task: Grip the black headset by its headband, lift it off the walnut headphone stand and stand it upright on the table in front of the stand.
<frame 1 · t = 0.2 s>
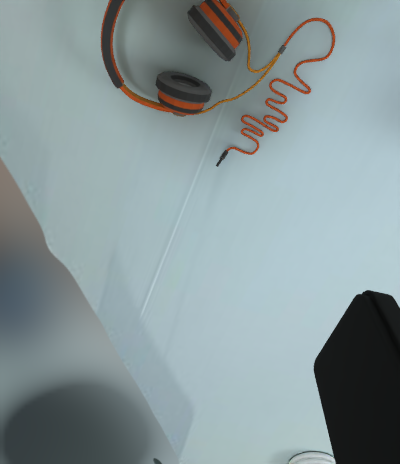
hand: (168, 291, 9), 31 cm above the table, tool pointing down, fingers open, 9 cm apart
headphones: (212, 64, 35), on the table
stack of white coasters: (312, 461, 74), on the table
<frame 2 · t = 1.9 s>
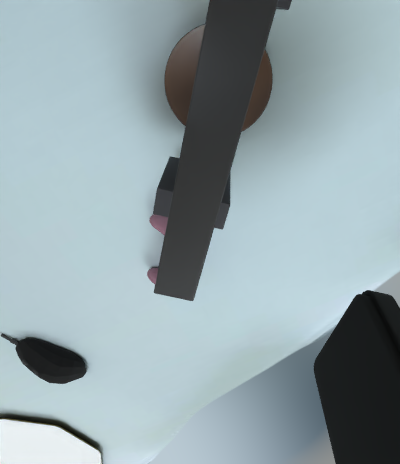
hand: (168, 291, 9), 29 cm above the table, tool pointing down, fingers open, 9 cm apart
video game controller: (173, 244, 44), on the table
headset: (216, 91, 30), point 4 cm above the table, touching headphone stand
plate: (41, 448, 77), on the table
gaming mouse: (46, 351, 58), on the table
headphone stand: (218, 82, 33), on the table
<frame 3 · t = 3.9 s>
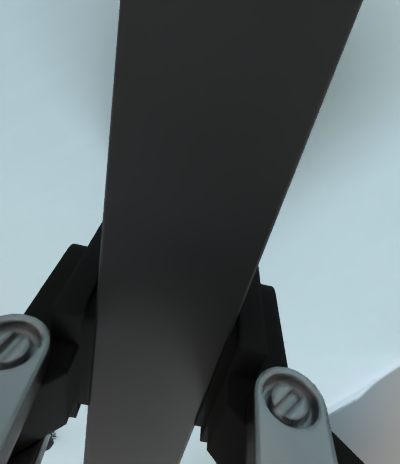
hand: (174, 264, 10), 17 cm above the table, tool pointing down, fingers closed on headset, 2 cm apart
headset: (202, 130, 21), point 4 cm above the table, touching gripper, headphone stand
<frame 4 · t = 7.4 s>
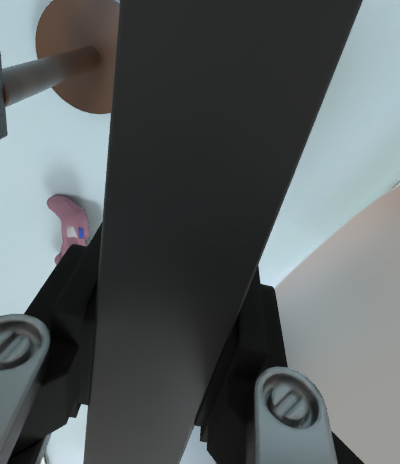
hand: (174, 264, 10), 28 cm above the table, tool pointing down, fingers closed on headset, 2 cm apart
video game controller: (79, 228, 44), on the table
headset: (202, 131, 21), point 15 cm above the table, touching gripper
headphone stand: (94, 56, 33), on the table
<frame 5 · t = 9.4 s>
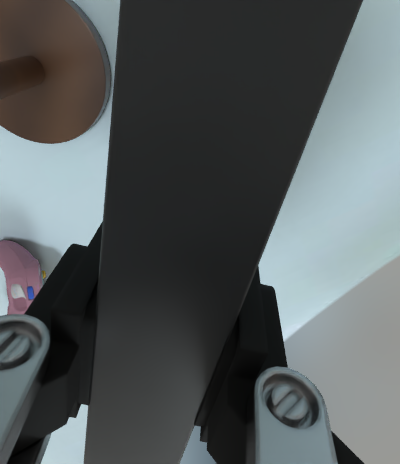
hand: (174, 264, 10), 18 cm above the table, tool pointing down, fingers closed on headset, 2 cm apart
video game controller: (37, 277, 35), on the table
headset: (202, 131, 21), point 5 cm above the table, touching gripper
headphone stand: (39, 68, 24), on the table
when the fingers open (13 cm above the table, at t = 10.8 s): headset stays where it is, on the table.
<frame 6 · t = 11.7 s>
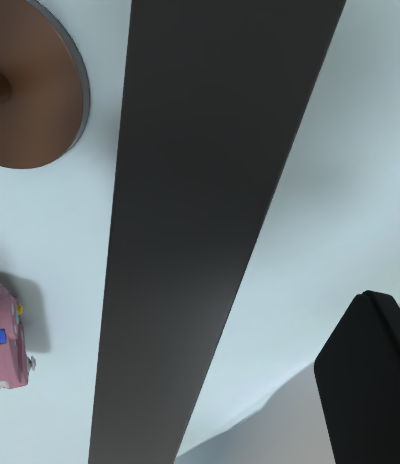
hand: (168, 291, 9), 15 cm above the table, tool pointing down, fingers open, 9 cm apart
video game controller: (14, 311, 32), on the table
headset: (202, 131, 22), on the table
headphone stand: (6, 82, 21), on the table
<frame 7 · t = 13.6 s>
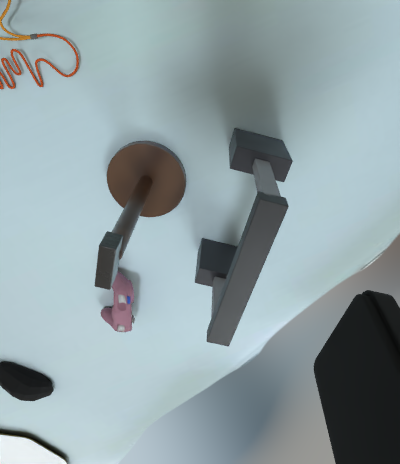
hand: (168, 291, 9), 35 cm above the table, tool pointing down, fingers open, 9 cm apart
video game controller: (121, 290, 56), on the table
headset: (236, 201, 46), on the table
plate: (14, 458, 86), on the table
gaming mouse: (18, 372, 68), on the table
headphone stand: (147, 178, 45), on the table
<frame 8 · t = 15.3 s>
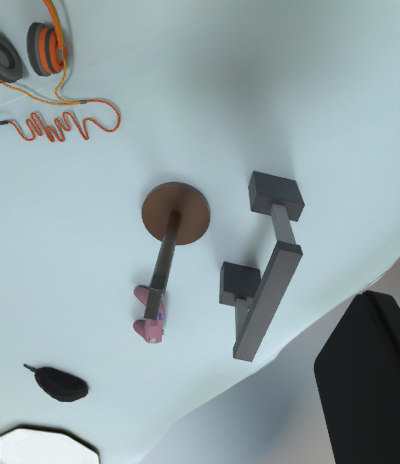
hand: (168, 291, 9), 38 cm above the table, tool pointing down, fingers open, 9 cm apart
video game controller: (151, 305, 63), on the table
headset: (254, 231, 53), on the table
plate: (50, 452, 95), on the table
gaming mouse: (57, 376, 76), on the table
headphones: (38, 64, 42), on the table
headphone stand: (176, 213, 52), on the table
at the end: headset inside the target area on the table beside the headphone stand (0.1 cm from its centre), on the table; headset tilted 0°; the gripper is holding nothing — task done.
